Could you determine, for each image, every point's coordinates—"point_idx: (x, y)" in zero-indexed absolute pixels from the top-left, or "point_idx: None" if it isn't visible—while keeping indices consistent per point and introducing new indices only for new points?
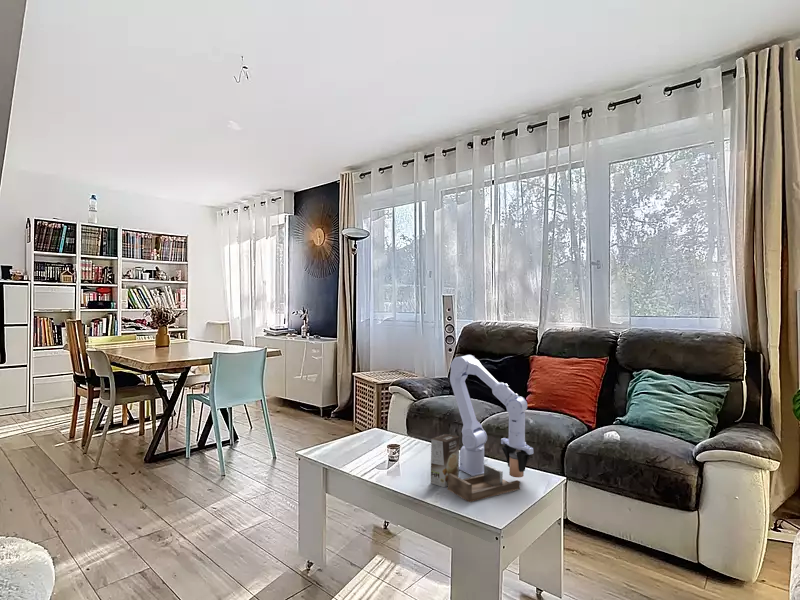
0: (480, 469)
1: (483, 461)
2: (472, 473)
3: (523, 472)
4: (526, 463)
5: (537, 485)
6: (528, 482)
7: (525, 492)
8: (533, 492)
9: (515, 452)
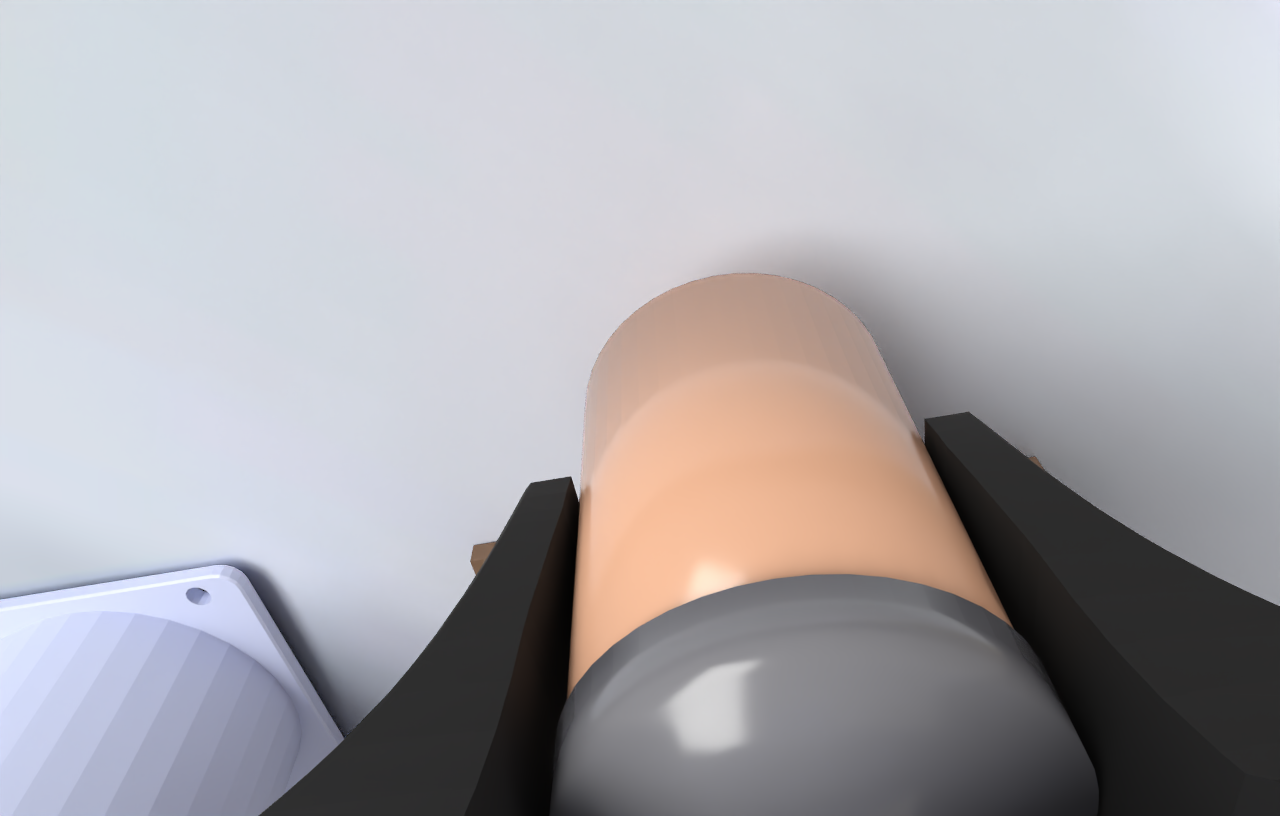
0: (271, 744)
1: (169, 809)
2: (301, 778)
3: (879, 361)
4: (1105, 520)
5: (1096, 65)
6: (871, 155)
7: (1181, 451)
8: (1271, 340)
9: (630, 808)
